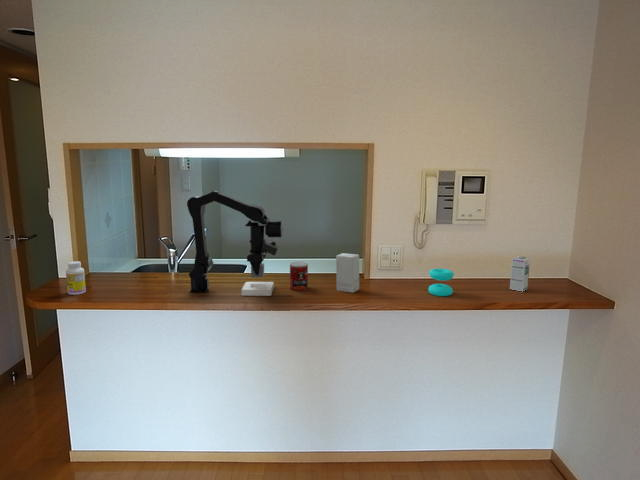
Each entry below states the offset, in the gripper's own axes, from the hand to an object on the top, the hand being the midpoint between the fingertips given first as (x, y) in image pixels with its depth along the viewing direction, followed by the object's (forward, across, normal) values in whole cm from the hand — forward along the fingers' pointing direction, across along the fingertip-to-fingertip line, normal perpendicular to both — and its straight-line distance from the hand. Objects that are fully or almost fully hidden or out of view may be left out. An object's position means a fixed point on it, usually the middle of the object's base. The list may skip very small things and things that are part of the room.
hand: (257, 273), depth 185 cm
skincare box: (+8, +3, -38) cm, 39 cm away
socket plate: (+8, 0, 0) cm, 8 cm away
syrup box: (+8, +5, -113) cm, 113 cm away
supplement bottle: (+8, -4, +74) cm, 74 cm away
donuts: (+8, -1, -77) cm, 77 cm away
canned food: (+8, +5, -17) cm, 19 cm away
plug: (+1, 0, 0) cm, 1 cm away
